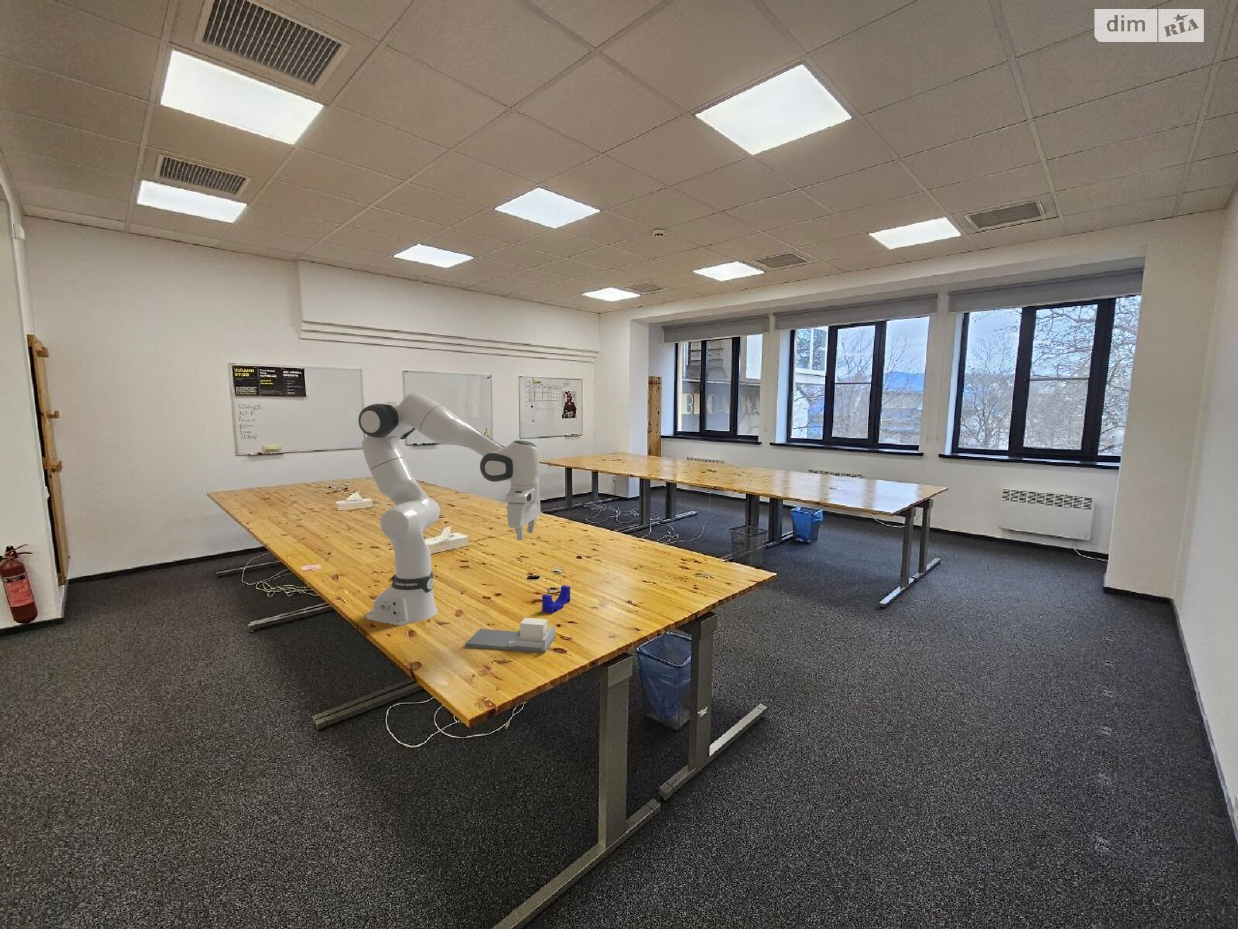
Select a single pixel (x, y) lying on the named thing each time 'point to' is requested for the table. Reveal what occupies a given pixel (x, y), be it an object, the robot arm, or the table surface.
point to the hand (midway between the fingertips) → (525, 536)
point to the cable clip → (558, 604)
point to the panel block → (533, 629)
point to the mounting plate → (509, 640)
